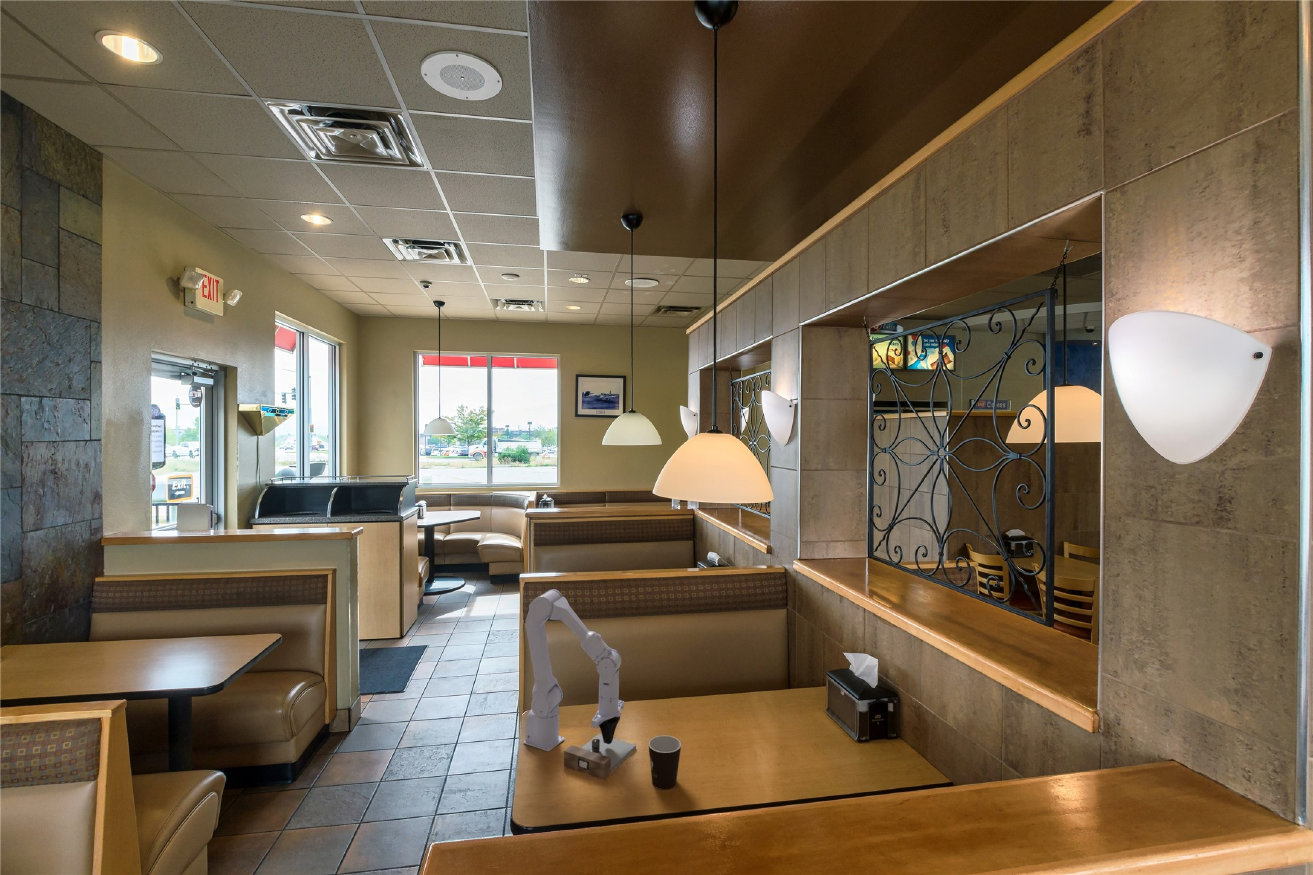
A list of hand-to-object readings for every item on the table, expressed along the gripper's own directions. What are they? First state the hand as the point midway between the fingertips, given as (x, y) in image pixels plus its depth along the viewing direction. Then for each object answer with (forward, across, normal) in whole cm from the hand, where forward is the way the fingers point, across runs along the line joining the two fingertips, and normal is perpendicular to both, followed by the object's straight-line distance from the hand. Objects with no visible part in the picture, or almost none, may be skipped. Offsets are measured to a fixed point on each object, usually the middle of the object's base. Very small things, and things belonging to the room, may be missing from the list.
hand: (607, 742), depth 161 cm
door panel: (+3, -2, 0) cm, 3 cm away
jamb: (+3, -11, 0) cm, 11 cm away
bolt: (+1, -9, 0) cm, 9 cm away
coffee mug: (+3, -4, -20) cm, 21 cm away
